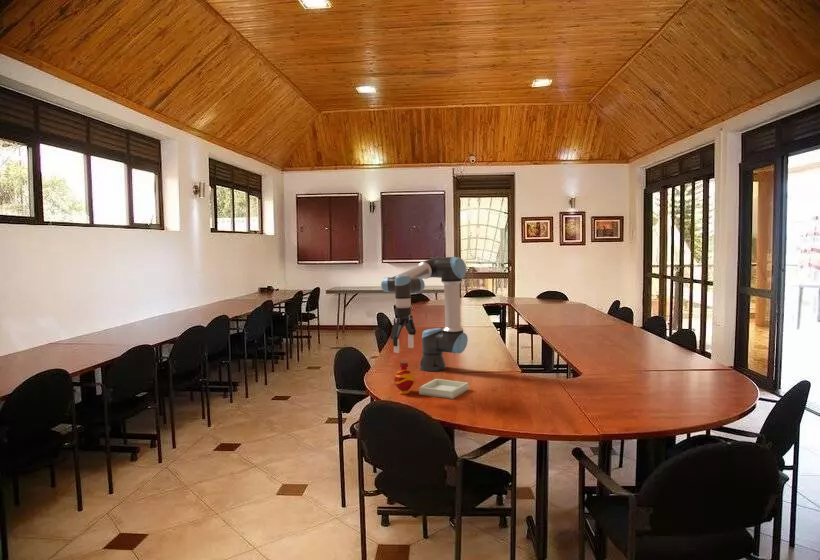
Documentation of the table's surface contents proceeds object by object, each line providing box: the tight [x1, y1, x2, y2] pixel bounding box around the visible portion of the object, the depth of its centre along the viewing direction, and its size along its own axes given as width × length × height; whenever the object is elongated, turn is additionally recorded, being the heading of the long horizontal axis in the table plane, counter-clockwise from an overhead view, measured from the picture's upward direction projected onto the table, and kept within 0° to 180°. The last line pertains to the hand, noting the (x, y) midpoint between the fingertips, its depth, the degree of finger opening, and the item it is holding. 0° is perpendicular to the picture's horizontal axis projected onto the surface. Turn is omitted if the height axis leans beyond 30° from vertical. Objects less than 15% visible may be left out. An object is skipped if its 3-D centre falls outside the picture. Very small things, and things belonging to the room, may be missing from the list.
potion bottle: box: [393, 360, 415, 395], centre depth 263 cm, size 10×10×15 cm
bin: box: [418, 378, 469, 400], centre depth 263 cm, size 18×18×4 cm
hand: (403, 350), depth 262 cm, fingers open, 13 cm apart
